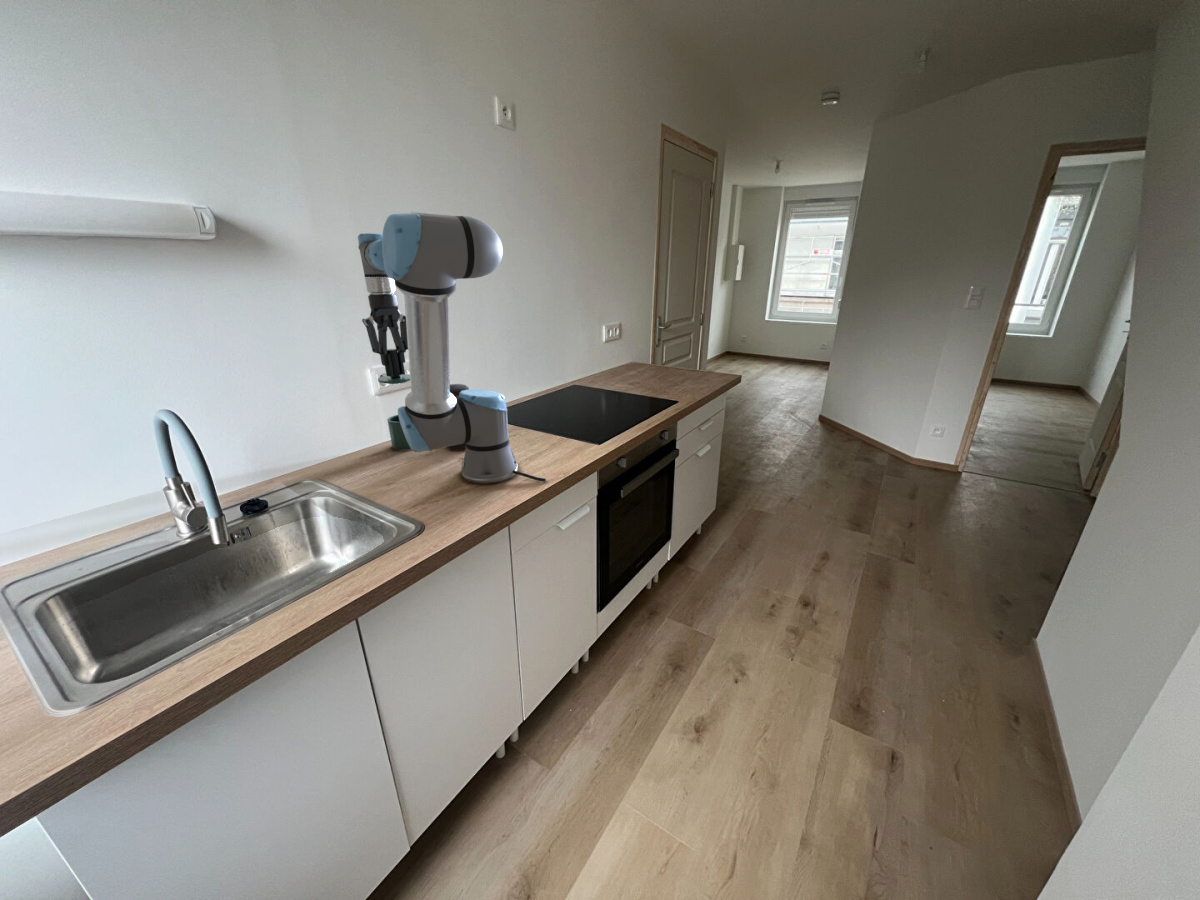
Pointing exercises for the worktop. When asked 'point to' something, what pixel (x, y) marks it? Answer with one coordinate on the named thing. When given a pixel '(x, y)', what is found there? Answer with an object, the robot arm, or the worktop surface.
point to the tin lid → (394, 370)
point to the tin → (397, 433)
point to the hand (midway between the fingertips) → (395, 374)
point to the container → (455, 390)
